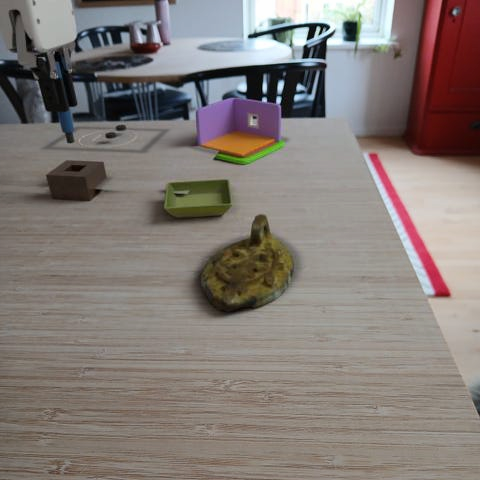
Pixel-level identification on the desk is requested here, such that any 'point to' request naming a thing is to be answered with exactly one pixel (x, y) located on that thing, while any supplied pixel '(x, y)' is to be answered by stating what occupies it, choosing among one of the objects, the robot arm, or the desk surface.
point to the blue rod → (65, 117)
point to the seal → (248, 270)
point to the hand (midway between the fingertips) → (61, 107)
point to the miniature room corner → (240, 129)
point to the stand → (76, 180)
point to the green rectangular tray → (198, 198)
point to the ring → (100, 135)
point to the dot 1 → (110, 135)
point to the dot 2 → (120, 127)
